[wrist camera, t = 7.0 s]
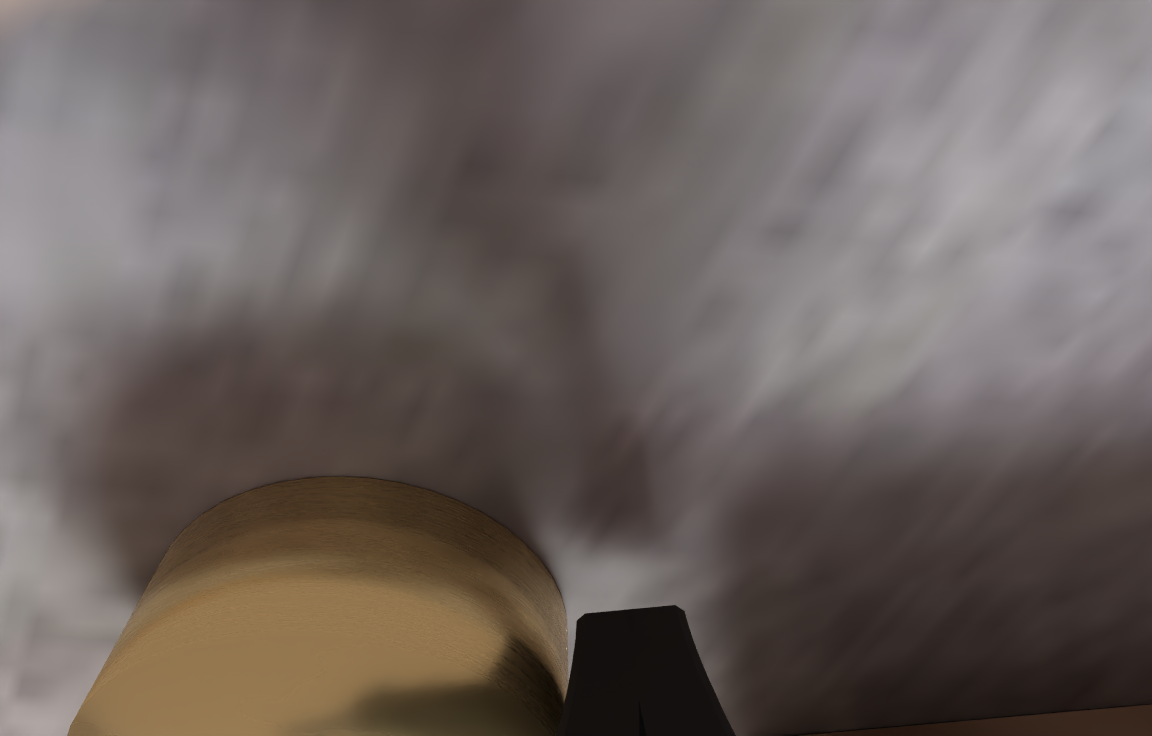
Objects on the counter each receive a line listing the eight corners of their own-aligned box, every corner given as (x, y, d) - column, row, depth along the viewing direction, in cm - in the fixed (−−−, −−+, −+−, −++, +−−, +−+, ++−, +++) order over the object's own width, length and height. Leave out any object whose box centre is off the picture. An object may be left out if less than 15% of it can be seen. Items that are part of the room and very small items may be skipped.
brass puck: (538, 453, 10) (534, 608, 8) (588, 736, 14) (594, 899, 11) (80, 501, 11) (-38, 663, 9) (235, 768, 14) (177, 934, 12)
